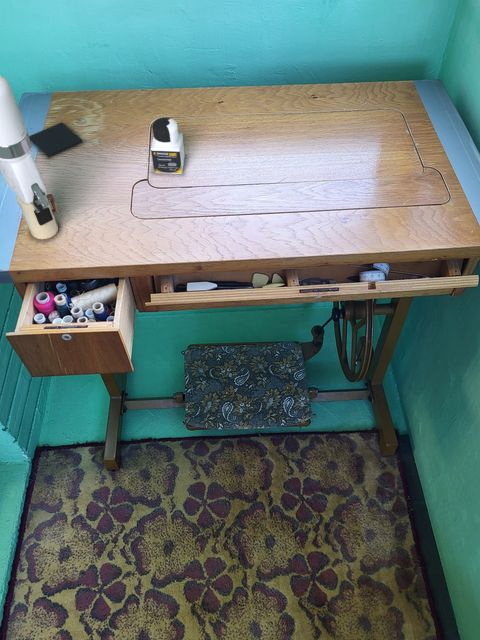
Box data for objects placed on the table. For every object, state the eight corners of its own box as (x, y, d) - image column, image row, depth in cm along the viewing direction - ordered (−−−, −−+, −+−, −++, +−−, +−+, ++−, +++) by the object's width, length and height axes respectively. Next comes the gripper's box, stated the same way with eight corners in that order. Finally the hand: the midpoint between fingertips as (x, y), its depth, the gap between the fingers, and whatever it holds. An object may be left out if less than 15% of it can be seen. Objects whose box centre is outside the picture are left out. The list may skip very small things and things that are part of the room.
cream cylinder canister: (39, 243, 118) (25, 209, 110) (25, 228, 120) (10, 194, 112) (68, 228, 121) (57, 193, 113) (55, 214, 123) (42, 179, 115)
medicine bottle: (154, 173, 133) (147, 131, 123) (157, 155, 137) (151, 113, 127) (182, 174, 133) (178, 132, 123) (184, 156, 137) (180, 114, 127)
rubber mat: (48, 157, 135) (48, 155, 134) (29, 139, 139) (28, 136, 138) (82, 142, 139) (81, 139, 138) (62, 124, 142) (61, 122, 142)
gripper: (-30, 128, 103) (3, 200, 118) (14, 173, 96) (43, 243, 111) (5, 114, 106) (33, 186, 121) (50, 157, 99) (74, 227, 115)
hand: (37, 213), depth 116 cm, fingers closed on cream cylinder canister, 6 cm apart
